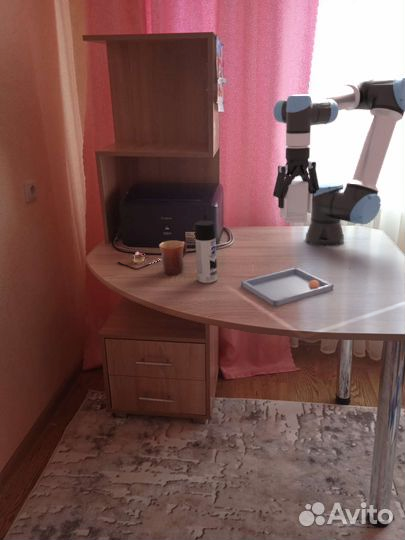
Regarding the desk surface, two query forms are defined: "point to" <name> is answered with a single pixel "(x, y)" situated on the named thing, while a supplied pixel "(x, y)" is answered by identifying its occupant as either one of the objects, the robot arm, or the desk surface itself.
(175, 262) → the mug
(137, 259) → the dessert
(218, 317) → the desk surface
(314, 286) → the ball
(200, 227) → the spray can
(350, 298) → the desk surface
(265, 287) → the tray
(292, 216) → the supplement box
